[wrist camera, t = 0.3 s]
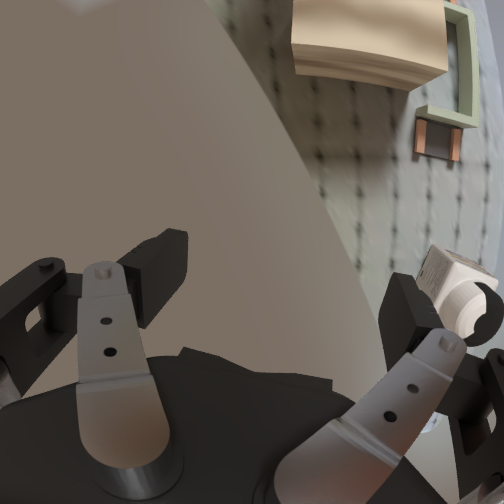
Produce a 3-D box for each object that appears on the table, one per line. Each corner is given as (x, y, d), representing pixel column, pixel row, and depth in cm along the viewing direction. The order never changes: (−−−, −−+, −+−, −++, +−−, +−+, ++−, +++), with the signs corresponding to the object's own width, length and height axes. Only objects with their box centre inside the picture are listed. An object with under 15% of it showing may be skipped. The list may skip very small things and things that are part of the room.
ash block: (299, 5, 30) (295, -43, 19) (408, 22, 29) (440, -16, 17) (296, 74, 34) (291, 43, 22) (409, 91, 32) (447, 71, 20)
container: (474, 260, 36) (522, 301, 24) (450, 308, 39) (488, 360, 27) (432, 242, 37) (476, 280, 25) (408, 294, 39) (440, 347, 27)
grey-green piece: (412, -20, 26) (420, -32, 22) (458, -5, 25) (468, -15, 21) (413, 151, 34) (424, 152, 30) (461, 162, 33) (475, 164, 29)
